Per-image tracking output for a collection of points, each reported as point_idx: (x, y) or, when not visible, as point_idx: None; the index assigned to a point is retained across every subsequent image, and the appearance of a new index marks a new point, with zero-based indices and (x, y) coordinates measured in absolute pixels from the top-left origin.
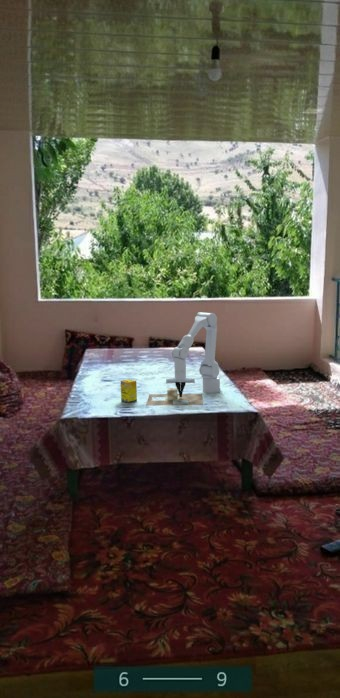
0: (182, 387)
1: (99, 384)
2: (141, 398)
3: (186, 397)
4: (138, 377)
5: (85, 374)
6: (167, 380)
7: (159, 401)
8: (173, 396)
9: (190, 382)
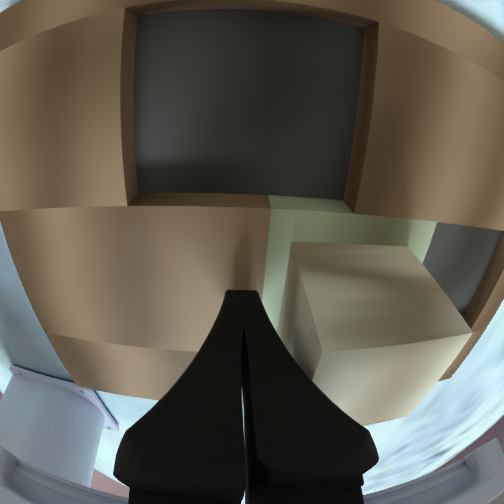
0: (196, 407)
1: (473, 430)
2: (486, 337)
3: (174, 322)
4: None
5: (447, 460)
6: (499, 482)
7: (488, 188)
8: (356, 268)
9: (46, 475)
